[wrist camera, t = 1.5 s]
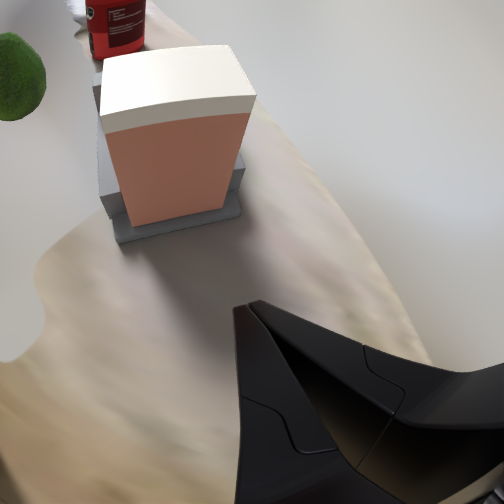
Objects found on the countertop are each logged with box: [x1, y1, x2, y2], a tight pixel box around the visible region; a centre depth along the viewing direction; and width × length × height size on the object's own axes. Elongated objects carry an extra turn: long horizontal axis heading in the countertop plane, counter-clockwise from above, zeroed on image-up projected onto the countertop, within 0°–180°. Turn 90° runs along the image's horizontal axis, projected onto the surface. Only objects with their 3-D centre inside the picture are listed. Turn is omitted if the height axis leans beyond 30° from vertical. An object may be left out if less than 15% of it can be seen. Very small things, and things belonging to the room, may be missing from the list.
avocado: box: [0, 32, 46, 121], centre depth 17 cm, size 8×8×12 cm
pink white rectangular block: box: [100, 45, 256, 227], centre depth 16 cm, size 5×7×11 cm
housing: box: [93, 72, 245, 244], centre depth 20 cm, size 13×11×7 cm
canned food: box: [85, 0, 146, 61], centre depth 24 cm, size 8×8×11 cm
